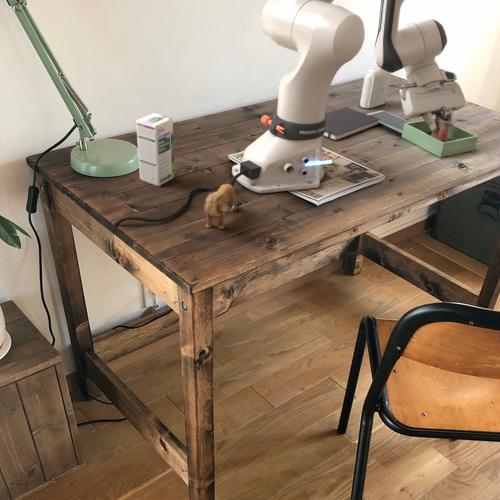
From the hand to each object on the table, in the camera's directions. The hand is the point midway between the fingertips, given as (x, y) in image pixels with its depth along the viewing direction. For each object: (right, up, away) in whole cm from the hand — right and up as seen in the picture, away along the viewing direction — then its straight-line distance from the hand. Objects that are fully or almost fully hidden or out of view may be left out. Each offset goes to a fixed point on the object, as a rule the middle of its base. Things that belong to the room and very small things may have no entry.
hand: (443, 127), depth 158 cm
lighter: (-1, -4, +3) cm, 5 cm away
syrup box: (-74, -17, -26) cm, 81 cm away
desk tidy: (-1, -4, +3) cm, 5 cm away
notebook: (-26, +3, +10) cm, 29 cm away
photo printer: (-14, +13, +27) cm, 33 cm away
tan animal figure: (-59, -28, -40) cm, 76 cm away
